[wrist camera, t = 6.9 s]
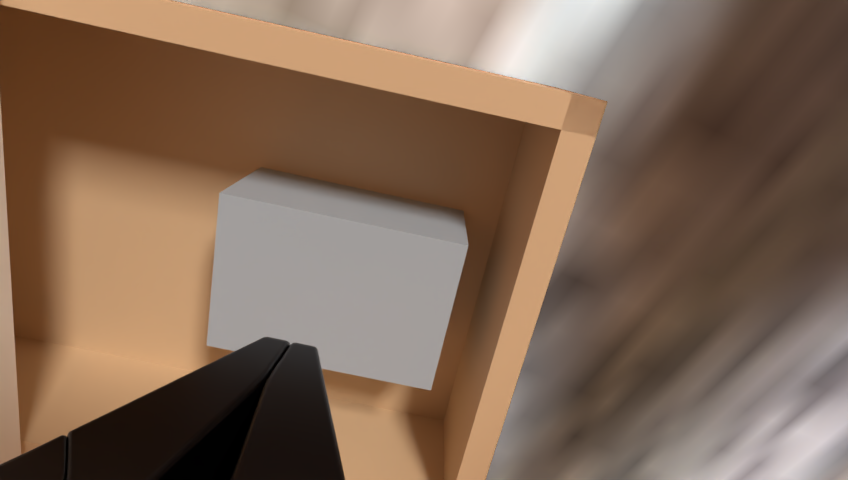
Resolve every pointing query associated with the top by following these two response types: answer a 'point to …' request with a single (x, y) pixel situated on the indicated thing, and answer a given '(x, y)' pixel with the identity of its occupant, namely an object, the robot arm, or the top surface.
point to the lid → (7, 337)
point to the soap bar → (336, 274)
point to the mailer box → (232, 161)
